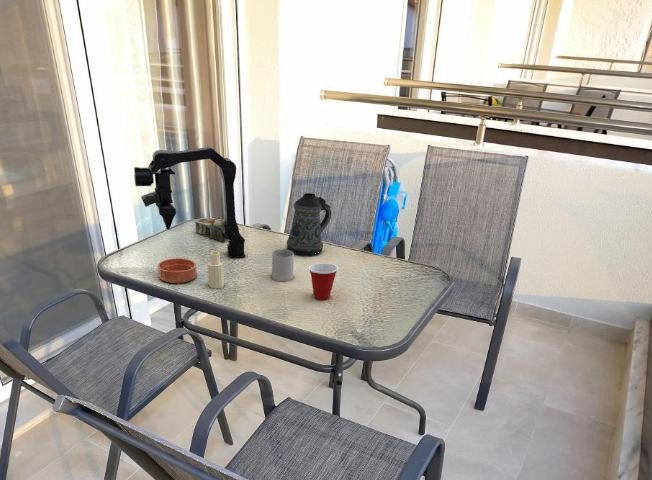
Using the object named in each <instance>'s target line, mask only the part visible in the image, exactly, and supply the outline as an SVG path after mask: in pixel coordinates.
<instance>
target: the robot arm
mask: <svg viewBox="0 0 652 480" xmlns="http://www.w3.org/2000/svg"><path fill="white" fill-rule="evenodd" d="M203 160H210V161H212V162H213V163H214V164H215V165H216V166H217V167H218V169H219V174H220V176H221V177H220V178H221V179H222V185H223V201H224V202H223V203H224V215H225V216H224V219H223V220H220V222H221V223H222V229H221V230H222V231H223V233H224V234H225V236H224V237H226V238H227V240H228V241H227V243H228V244H227V245H226V248H227V249H226V250H227V251H226V253H227V255H228V257H229V258H230V259H239V258H241V259H242V258H246V255H245V242H246V239H245V237H244V236H243V235H242V234H241V233H240V228H239V224H238V222H237V217H236V203H235V202H236V201H235V187H234V186H235V185H234V184H235V181H236V175H237V165H236V163H234V161H233V160H231V159H230V158H229V157H224V156H222V155H221V154H220V153H218V152H217V151H216V150H215V149H214V148H213V147H212V146H205V147H200V148H192V149H185V150H177V151H176V150H175V151H174V150H167V149H157V150H155V151H154V152H153V154H152V160H151V161H150V163H149V165H148V167H140V166H134V167H133V173H134V174H133V178H134V185H135V187H152V185H153V184H154V183H155V187H154V191H151V192H149V193H147V194H143V195H141V196H140V199H141V201H142V204H143V205H144V207H146V208H147V207H149V206H151V205H154V204H155V206H156V207H157V211H158V214H159V216H160V217H162V221H163V223H164V225H165V229H166V230H167V231H169V230H171V226H172V224H173V221H174V218H175V216H176V214H177V209H176V206H175V205H173V204H174V201H173V196H172V195H173V194H172V193H173V189H172V181H171V175H176V171H175V170H173V169H172V167H174V166H176V165H178V164H181V163H189V162H197V161H203Z"/></svg>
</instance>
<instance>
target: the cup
mask: <svg viewBox="0 0 652 480" xmlns="http://www.w3.org/2000/svg"><path fill="white" fill-rule="evenodd" d="M294 261H295V255H294V253H293V252H292V251H289V250H288V249H275V250H273V251H272V253H271V277H272V279H273V280H275V281H276V282H277V281H278V282H289V281H291V280H293V278H294Z"/></svg>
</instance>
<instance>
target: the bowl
mask: <svg viewBox="0 0 652 480" xmlns="http://www.w3.org/2000/svg"><path fill="white" fill-rule="evenodd" d="M196 263H197V262H195V261H193V260H191V259H189V258H183V257H182V258H179V257H176V258H175V257H174V258H167V259H164V260H162V261H160V262H158V264H157V273H158V274H157V275H158V279H160V280H161V281H164V282H166V283H168V284H184V283H185V284H186V283H188V282H191V281H192V280H194V279H195V278H197V275H198V273H197V264H196Z"/></svg>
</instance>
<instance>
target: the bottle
mask: <svg viewBox="0 0 652 480" xmlns="http://www.w3.org/2000/svg"><path fill="white" fill-rule="evenodd" d="M209 255H210V256H209V257H210V261H208V262H207V278H208V287H209V288H211V289H215V290H216V289H217V290H218V289H222V288H223V287H225V276H224V262H223V261H221V259H220V258H221V257H220V252H219V251H217V250H215V251H210V253H209Z"/></svg>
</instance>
